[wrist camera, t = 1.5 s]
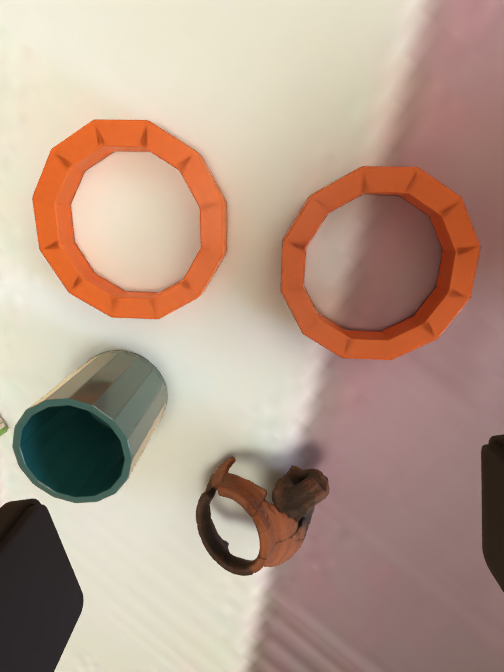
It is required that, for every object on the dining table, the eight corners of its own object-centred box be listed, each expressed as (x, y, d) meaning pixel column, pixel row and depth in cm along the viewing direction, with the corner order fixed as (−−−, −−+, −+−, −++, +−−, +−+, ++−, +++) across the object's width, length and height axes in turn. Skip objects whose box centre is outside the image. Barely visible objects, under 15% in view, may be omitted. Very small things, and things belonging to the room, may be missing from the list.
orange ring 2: (422, 131, 27) (435, 125, 24) (488, 302, 30) (504, 309, 28) (250, 229, 29) (248, 230, 27) (327, 376, 32) (331, 387, 30)
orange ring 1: (165, 87, 27) (155, 76, 24) (258, 261, 30) (257, 265, 28) (16, 188, 29) (-4, 186, 27) (116, 339, 32) (105, 347, 30)
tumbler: (135, 334, 32) (84, 378, 24) (184, 410, 34) (154, 476, 25) (61, 374, 34) (-12, 430, 25) (112, 444, 36) (60, 518, 27)
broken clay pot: (278, 545, 39) (229, 604, 32) (225, 463, 41) (168, 502, 34) (371, 495, 33) (335, 555, 26) (302, 403, 35) (252, 435, 28)
